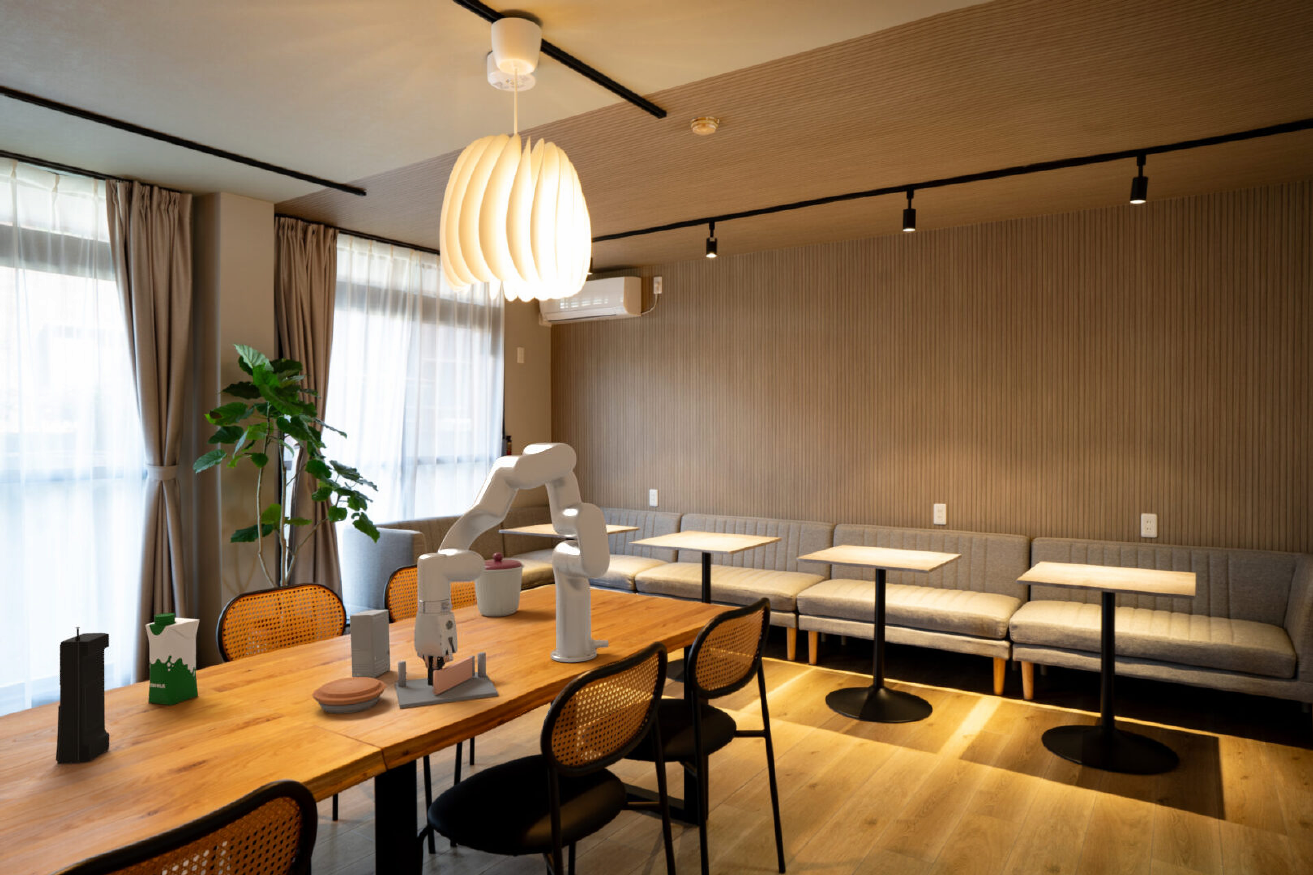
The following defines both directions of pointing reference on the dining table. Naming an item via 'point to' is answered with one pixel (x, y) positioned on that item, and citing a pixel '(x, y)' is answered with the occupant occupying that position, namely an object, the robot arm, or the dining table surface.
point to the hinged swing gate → (422, 693)
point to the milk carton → (172, 659)
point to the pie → (349, 694)
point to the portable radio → (82, 699)
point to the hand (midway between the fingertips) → (435, 684)
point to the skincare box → (370, 643)
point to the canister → (499, 586)
